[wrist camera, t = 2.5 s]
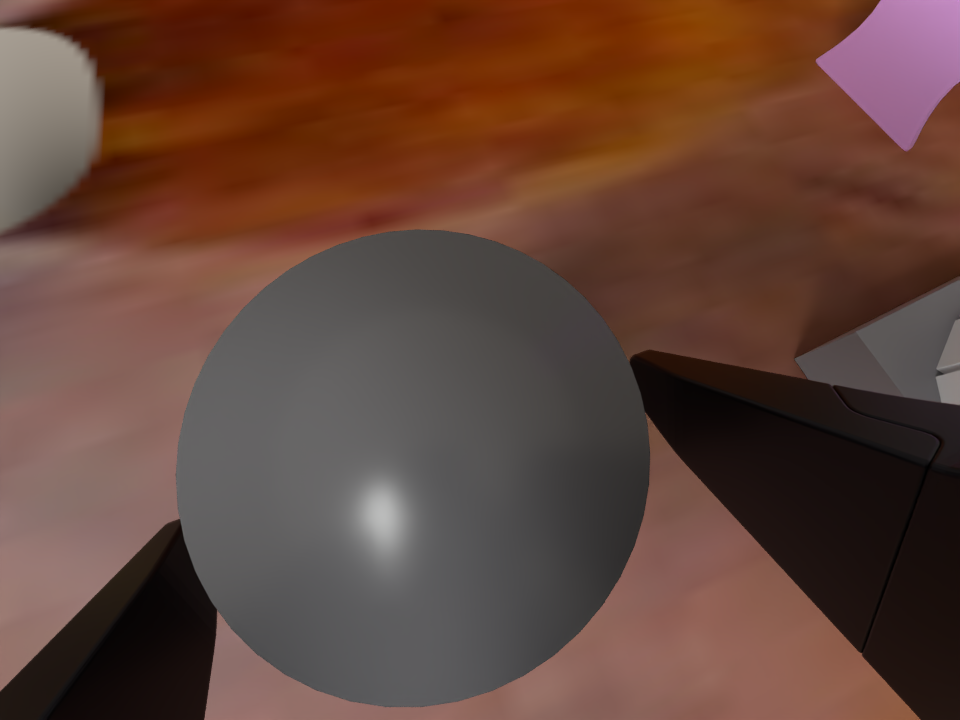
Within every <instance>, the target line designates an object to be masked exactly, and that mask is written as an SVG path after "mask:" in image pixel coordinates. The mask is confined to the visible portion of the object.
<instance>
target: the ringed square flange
mask: <svg viewBox="0 0 960 720" xmlns="http://www.w3.org/2000/svg"><path fill="white" fill-rule="evenodd" d="M795 361H796V362H797V364H798V365H799V367H800V368H801V370H802V371H803V372H804V374H805V375H806V377H807V378H808V380H813V381H818V382H823V383H828V384H831V386H833V385H839V386H845V387H850V388H855V389H860V390H866V391H872V392H878V393H883V394H889V395H895V396H901V397H908V398H915V399H922V400H928V401H935V402H942V403H949V404H956V405H960V276H958V277H956V278H954V279H952V280H950V281H948V282H946V283H944V284H942V285H940V286H938V287H936V288H934V289H932V290H930V291H928V292H926V293H924V294H922V295H920V296H918V297H916V298H914V299H912V300H910V301H908V302H906V303H904V304H902V305H900V306H898V307H896V308H894V309H892V310H890V311H888V312H886V313H884V314H882V315H880V316H878V317H876V318H875V319H873V320H871V321H869V322H867V323H865V324H863V325H861V326H859V327H857V328H855V329H853V330H851V331H849V332H847V333H845V334H843V335H841V336H839V337H837V338H835V339H833V340H831V341H829V342H827V343H825V344H823V345H821V346H819V347H817V348H815V349H813V350H811V351H809V352H807V353H805V354H803V355H801V356H799V357H797V358H795Z"/></svg>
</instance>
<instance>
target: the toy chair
mask: <svg viewBox="0 0 960 720" xmlns="http://www.w3.org/2000/svg"><path fill="white" fill-rule="evenodd" d="M816 63H817V64H818V65H819V66H820V67H821V68H822V69H823V70H824V71H825V72H826V73H827V74H828V75H829V76H830V77H831V78H832V79H833V80H834V81H835V82H836V83H837V84H838V85H839V86H840V87H841V88H842V89H843V90H844V91H845V92H846V93H847V94H848V95H849V96H850V97H851V98H852V99H853V100H854V101H855V102H856V103H857V104H858V105H859V106H860V107H861V108H862V109H863V110H864V111H865V112H866V113H867V114H868V115H869V116H870V117H871V118H872V119H873V120H874V121H875V122H876V123H877V124H878V125H879V126H880V127H881V128H882V129H883V130H884V131H885V132H886V133H887V134H888V135H889V136H890V137H891V138H892V139H893V140H894V141H895V142H896V143H897V144H898V145H899V146H900V147H901V148H902V149H903V150H904V151H908V150H910V149H911V148H912V147H913V146H914V144H915V142H916V140H917V138H918V136H919V134H920V132H921V130H922V128H923V126H924V125H925V123H926V121H927V119H928V118H929V116H930V114H931V113H932V112H933V110H934V109H935V108H936V106H937V105H938V103H939V102H940V101H941V99H942V98H943V97H944V96H945V95H946V94H947V93H948V92H949V91H950V90H951V89H952V88H953V87H954V86H955V85H956V84H957V83H959V82H960V0H881V1H880V2H879V3H878V5H877V6H876V8H875V9H874V11H873V12H872V13H871V14H870V15H869V16H868V18H867V19H866V20H865V21H864V22H863V23H862V24H861V25H860V26H859V27H858V28H857V29H856V30H855V31H854V32H852V33H851V34H850V35H849V36H848V37H847V38H845V39H844V40H843V41H842V42H840V43H839V44H838V45H836V46H835V47H833V48H832V49H831V50H829V51H828V52H826V53H825V54H823V55H822V56H820V57H819V58H817V59H816Z"/></svg>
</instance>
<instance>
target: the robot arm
mask: <svg viewBox="0 0 960 720" xmlns="http://www.w3.org/2000/svg"><path fill="white" fill-rule="evenodd" d="M630 365H631V368H632V371H633V373H634V376H635V379H636V382H637V385H638V387H639V390H640V393H641V397H642V401H643V406H644V410H645V412H646V414H647V415H648V416H649V418H650V419H651V421H652V422H653V423H654V425H655V426H656V427H657V429H658V430H659V431H660V433H661V434H662V436H663V437H664V438H665V440H666V441H667V442H668V444H669V445H670V446H671V448H672V449H673V450H674V451H675V453H676V454H677V455H678V456H679V457H680V458H681V459H682V461H683V462H684V463H685V464H686V465H687V466H688V467H689V468H690V469H691V470H692V471H693V472H694V474H695V475H696V476H697V477H698V478H699V479H700V480H701V481H702V482H703V483H704V484H705V485H706V487H707V488H708V489H709V490H710V491H711V492H712V493H713V494H714V495H715V496H716V497H717V499H718V500H719V501H720V502H721V503H722V504H723V505H724V506H725V507H726V508H727V509H728V510H729V512H730V513H731V514H732V515H733V516H734V517H735V518H736V519H737V520H738V521H739V522H740V523H741V525H742V526H743V527H744V528H745V529H746V530H747V531H748V532H749V533H750V534H751V535H752V536H753V538H754V539H755V540H756V541H757V542H758V543H759V544H760V545H761V546H762V547H763V548H764V550H765V551H766V552H767V553H768V554H769V555H770V556H771V557H772V558H773V559H774V560H775V561H776V563H777V564H778V565H779V566H780V567H781V568H782V569H783V570H784V571H785V572H786V573H787V574H788V576H789V577H790V578H791V579H792V580H793V581H794V582H795V583H796V584H797V585H798V586H799V588H800V589H801V590H802V591H803V592H804V593H805V594H806V595H807V596H808V597H809V598H810V599H811V601H812V602H813V603H814V604H815V605H816V606H817V607H818V608H819V609H820V610H821V611H822V612H823V614H824V615H825V616H826V617H827V618H828V619H829V620H830V621H831V622H832V623H833V624H834V626H835V627H836V628H837V629H838V630H839V631H840V632H841V633H842V634H843V635H844V636H845V637H846V639H847V640H848V641H849V642H850V643H851V644H852V645H853V646H854V647H855V648H856V649H857V650H858V651H859V652H860V653H862V656H863V657H864V659H865V660H866V661H867V662H868V663H869V664H870V665H871V666H872V667H873V668H874V669H875V671H876V672H877V673H878V674H879V675H880V676H881V677H882V678H883V679H884V680H885V681H886V682H887V684H888V685H889V686H890V687H891V688H892V689H893V690H894V691H895V692H896V693H897V694H898V695H899V697H900V698H901V699H902V700H903V701H904V702H905V703H906V704H907V705H908V706H909V707H910V708H911V710H912V711H913V712H914V713H915V714H916V715H917V716H918V717H919V718H920V719H921V720H960V405H956V404H949V403H942V402H935V401H928V400H922V399H915V398H908V397H901V396H895V395H889V394H883V393H878V392H872V391H866V390H860V389H855V388H850V387H845V386H839V385H833V386H831V384H828V383H823V382H818V381H813V380H807V379H802V378H797V377H791V376H786V375H781V374H775V373H770V372H765V371H760V370H754V369H749V368H744V367H738V366H733V365H728V364H723V363H717V362H712V361H707V360H701V359H696V358H691V357H686V356H680V355H675V354H670V353H664V352H659V351H654V350H646V351H643V352H641V353H638V354H635V355H633V356H632V357H631V359H630ZM216 628H217V609H216V607H215V606H214V605H213V603H212V602H211V600H210V598H209V596H208V594H207V593H206V591H205V589H204V587H203V585H202V583H201V581H200V579H199V577H198V576H197V574H196V572H195V569H194V566H193V563H192V560H191V558H190V555H189V552H188V549H187V546H186V544H185V541H184V536H183V531H182V526H181V521H180V519H178V520H175V521H172V522H169V523H168V524H166V525H165V526H164V527H163V528H162V529H161V530H160V531H159V532H158V533H157V534H156V535H155V536H154V537H153V538H152V539H151V540H150V541H149V542H148V543H147V544H146V545H145V546H144V547H143V548H142V549H141V550H140V551H139V552H138V553H137V554H136V555H135V556H134V557H133V558H132V559H131V560H130V561H129V562H128V563H127V564H126V565H125V566H124V567H123V568H122V569H121V570H120V571H119V572H118V573H117V574H116V575H115V576H114V577H113V578H112V579H111V580H110V581H109V582H108V583H107V584H106V585H105V586H104V587H103V588H102V589H101V590H100V591H99V592H98V593H97V594H96V595H95V596H94V597H93V598H92V599H91V600H90V601H89V602H88V603H87V604H86V605H85V606H84V607H83V608H82V609H81V610H80V611H79V612H78V613H77V614H76V615H75V617H74V618H73V619H72V620H71V621H70V622H69V623H68V624H67V625H66V626H65V627H64V628H63V629H62V630H61V631H60V632H59V633H58V634H57V635H56V636H55V637H54V638H53V639H52V640H51V641H50V642H49V643H48V644H47V645H46V646H45V647H44V648H43V649H42V650H41V651H40V652H39V653H38V654H37V655H36V656H35V657H34V658H33V659H32V660H31V661H30V662H29V663H28V664H27V665H26V666H25V667H24V668H23V669H22V670H21V671H20V672H19V673H18V674H17V675H16V676H15V677H14V678H13V679H12V680H11V681H10V682H9V683H8V684H7V685H6V686H5V687H4V688H3V689H2V690H1V691H0V720H204V718H205V711H206V704H207V697H208V690H209V683H210V676H211V669H212V662H213V655H214V648H215V639H216Z"/></svg>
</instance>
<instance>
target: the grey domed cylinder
mask: <svg viewBox="0 0 960 720" xmlns="http://www.w3.org/2000/svg"><path fill="white" fill-rule="evenodd" d="M649 468H650V447H649V436H648V425H647V419H646V415H645V410H644V406H643V401H642V397H641V393H640V390H639V387H638V385H637V382H636V379H635V376H634V373H633V371H632V368H631V365H630V364H629V362H628V360H627V358H626V356H625V354H624V352H623V350H622V348H621V346H620V344H619V342H618V340H617V339H616V337H615V336H614V334H613V333H612V331H611V330H610V328H609V327H608V325H607V324H606V322H605V321H604V319H603V318H602V317H601V316H600V315H599V313H598V312H597V311H596V310H595V309H594V308H593V306H592V305H591V304H590V303H589V302H588V301H587V300H586V298H585V297H584V296H583V295H581V294H580V293H579V292H578V291H577V290H576V289H575V288H574V287H573V286H571V285H570V284H569V283H568V282H567V281H566V280H565V279H563V278H562V277H561V276H559V275H558V274H556V273H555V272H554V271H552V270H551V269H549V268H548V267H547V266H545V265H544V264H542V263H540V262H538V261H537V260H535V259H533V258H531V257H529V256H527V255H526V254H524V253H522V252H520V251H518V250H515V249H513V248H510V247H508V246H505V245H503V244H500V243H498V242H495V241H492V240H488V239H484V238H480V237H477V236H473V235H469V234H463V233H456V232H449V231H441V230H406V231H393V232H386V233H381V234H376V235H371V236H365V237H361V238H358V239H355V240H352V241H349V242H346V243H342V244H339V245H336V246H334V247H332V248H330V249H327V250H325V251H323V252H321V253H318V254H316V255H314V256H312V257H310V258H308V259H306V260H305V261H303V262H301V263H300V264H298V265H296V266H295V267H293V268H291V269H289V270H288V271H286V272H285V273H284V274H282V275H281V276H280V277H278V278H277V279H276V280H274V281H273V282H272V283H270V284H269V285H268V286H266V287H265V288H264V289H263V290H262V291H261V292H260V293H259V294H258V295H257V296H255V297H254V298H253V299H252V300H251V301H250V302H249V303H248V304H247V305H246V306H245V307H244V308H243V309H242V310H241V311H240V313H239V314H238V315H237V316H236V317H235V319H234V320H233V321H232V322H231V323H230V325H229V326H228V327H227V328H226V329H225V331H224V332H223V334H222V335H221V337H220V338H219V340H218V342H217V343H216V345H215V346H214V348H213V349H212V351H211V352H210V354H209V355H208V357H207V359H206V361H205V363H204V365H203V367H202V370H201V372H200V374H199V376H198V378H197V380H196V382H195V384H194V387H193V390H192V393H191V396H190V399H189V402H188V404H187V407H186V410H185V414H184V418H183V423H182V428H181V433H180V438H179V442H178V454H177V467H176V486H177V502H178V511H179V516H180V521H181V526H182V531H183V536H184V541H185V544H186V546H187V549H188V552H189V555H190V558H191V560H192V563H193V566H194V569H195V572H196V574H197V576H198V577H199V579H200V581H201V583H202V585H203V587H204V589H205V591H206V593H207V594H208V596H209V598H210V600H211V602H212V603H213V605H214V606H215V607H216V609H217V610H218V611H219V613H220V614H221V615H222V617H223V618H224V619H225V621H226V622H227V624H228V625H229V626H230V628H231V629H232V630H233V631H234V632H235V633H236V634H237V635H238V636H239V637H240V638H241V639H242V640H243V641H244V642H245V643H246V644H247V645H248V646H249V647H250V648H251V649H252V650H253V651H254V652H255V653H256V654H257V655H259V656H260V657H262V658H263V659H264V660H266V661H267V662H269V663H270V664H271V665H273V666H274V667H275V668H277V669H278V670H280V671H281V672H282V673H284V674H285V675H287V676H289V677H291V678H293V679H295V680H297V681H299V682H301V683H303V684H305V685H307V686H309V687H311V688H313V689H315V690H317V691H320V692H323V693H326V694H329V695H333V696H336V697H339V698H342V699H345V700H348V701H352V702H358V703H365V704H371V705H377V706H384V707H425V706H431V705H438V704H444V703H451V702H458V701H461V700H464V699H467V698H470V697H474V696H477V695H480V694H483V693H487V692H490V691H493V690H495V689H497V688H499V687H501V686H503V685H505V684H507V683H509V682H511V681H514V680H516V679H518V678H520V677H522V676H524V675H526V674H527V673H529V672H530V671H532V670H533V669H534V668H536V667H537V666H539V665H540V664H542V663H543V662H545V661H546V660H548V659H549V658H551V657H552V656H554V655H555V654H556V653H557V652H558V651H559V650H561V649H562V648H563V647H564V646H565V645H566V644H567V643H568V642H569V641H571V640H572V639H573V638H574V637H575V636H576V635H577V634H578V633H579V632H580V631H581V630H582V629H583V628H584V627H585V625H586V624H587V623H588V622H589V621H590V619H591V618H592V617H593V616H594V615H595V614H596V612H597V611H598V610H599V609H600V608H601V606H602V605H603V604H604V602H605V600H606V599H607V597H608V596H609V594H610V592H611V591H612V589H613V588H614V586H615V584H616V583H617V581H618V580H619V578H620V576H621V574H622V572H623V570H624V568H625V566H626V563H627V561H628V559H629V557H630V555H631V552H632V550H633V548H634V546H635V542H636V539H637V536H638V532H639V529H640V526H641V523H642V519H643V516H644V511H645V505H646V499H647V493H648V487H649Z"/></svg>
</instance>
